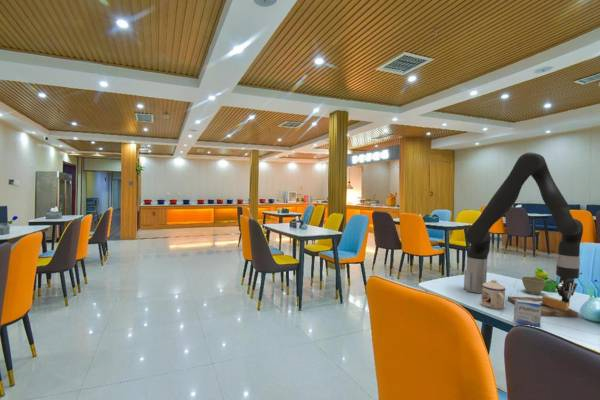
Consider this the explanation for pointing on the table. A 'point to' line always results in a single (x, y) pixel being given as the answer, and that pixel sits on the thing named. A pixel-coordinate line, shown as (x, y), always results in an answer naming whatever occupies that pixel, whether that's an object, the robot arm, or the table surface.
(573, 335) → the table surface
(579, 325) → the table surface
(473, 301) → the table surface
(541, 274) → the fruit basket
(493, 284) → the teacup with lid
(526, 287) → the bowl
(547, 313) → the sundial board
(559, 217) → the robot arm
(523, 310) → the medicine box
